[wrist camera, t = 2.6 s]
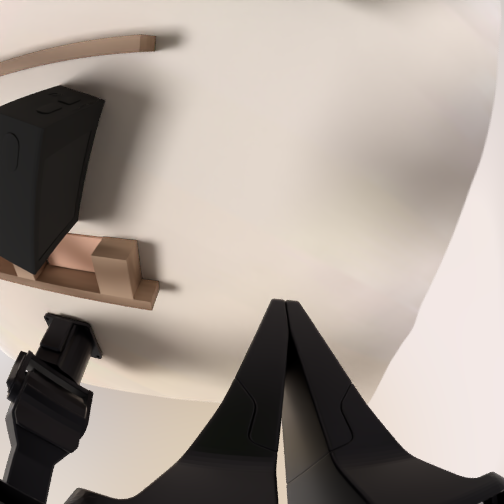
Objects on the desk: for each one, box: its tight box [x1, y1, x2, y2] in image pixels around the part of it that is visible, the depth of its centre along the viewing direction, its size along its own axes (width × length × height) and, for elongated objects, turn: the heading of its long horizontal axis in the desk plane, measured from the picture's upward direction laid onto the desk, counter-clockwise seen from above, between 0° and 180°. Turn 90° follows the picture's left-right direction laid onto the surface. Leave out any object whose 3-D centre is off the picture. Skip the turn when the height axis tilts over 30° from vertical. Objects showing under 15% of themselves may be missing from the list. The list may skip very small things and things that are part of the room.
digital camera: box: [0, 86, 105, 275], centre depth 16 cm, size 10×5×7 cm, turn 153°
